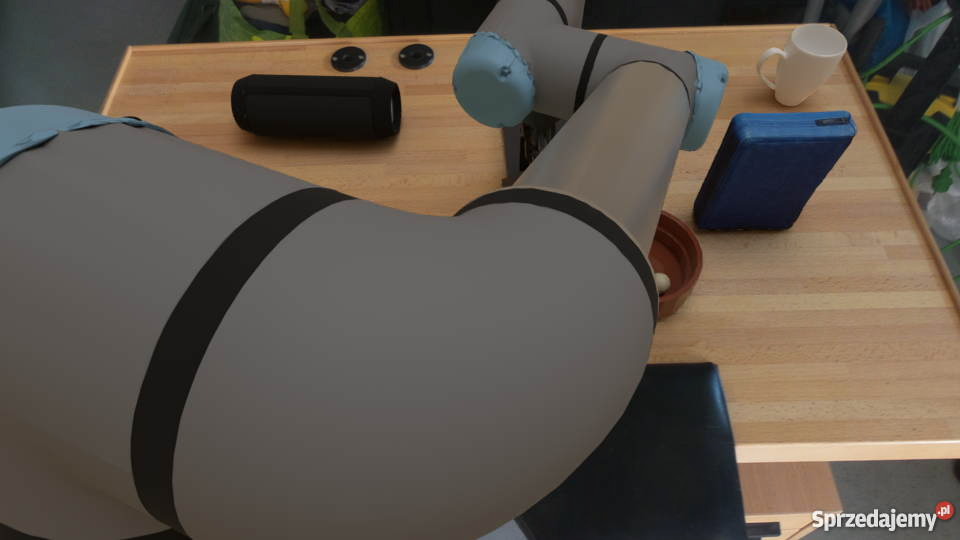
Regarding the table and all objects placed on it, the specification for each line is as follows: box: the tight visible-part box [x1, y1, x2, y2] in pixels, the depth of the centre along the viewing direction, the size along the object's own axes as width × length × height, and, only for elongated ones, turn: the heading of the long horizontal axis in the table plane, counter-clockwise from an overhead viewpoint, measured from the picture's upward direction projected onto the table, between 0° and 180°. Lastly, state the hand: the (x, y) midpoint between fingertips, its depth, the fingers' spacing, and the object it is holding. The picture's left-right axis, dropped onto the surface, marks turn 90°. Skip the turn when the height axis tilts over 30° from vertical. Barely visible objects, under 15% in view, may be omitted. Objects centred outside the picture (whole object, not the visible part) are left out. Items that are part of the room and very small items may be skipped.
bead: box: [655, 273, 670, 294], centre depth 76 cm, size 3×3×3 cm
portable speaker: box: [230, 73, 403, 141], centre depth 92 cm, size 26×10×10 cm, turn 86°
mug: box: [756, 23, 848, 107], centre depth 92 cm, size 12×8×11 cm
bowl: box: [648, 209, 704, 320], centre depth 77 cm, size 15×15×6 cm
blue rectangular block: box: [692, 109, 858, 232], centre depth 75 cm, size 14×5×20 cm, turn 89°
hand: (532, 201), depth 82 cm, fingers open, 12 cm apart
